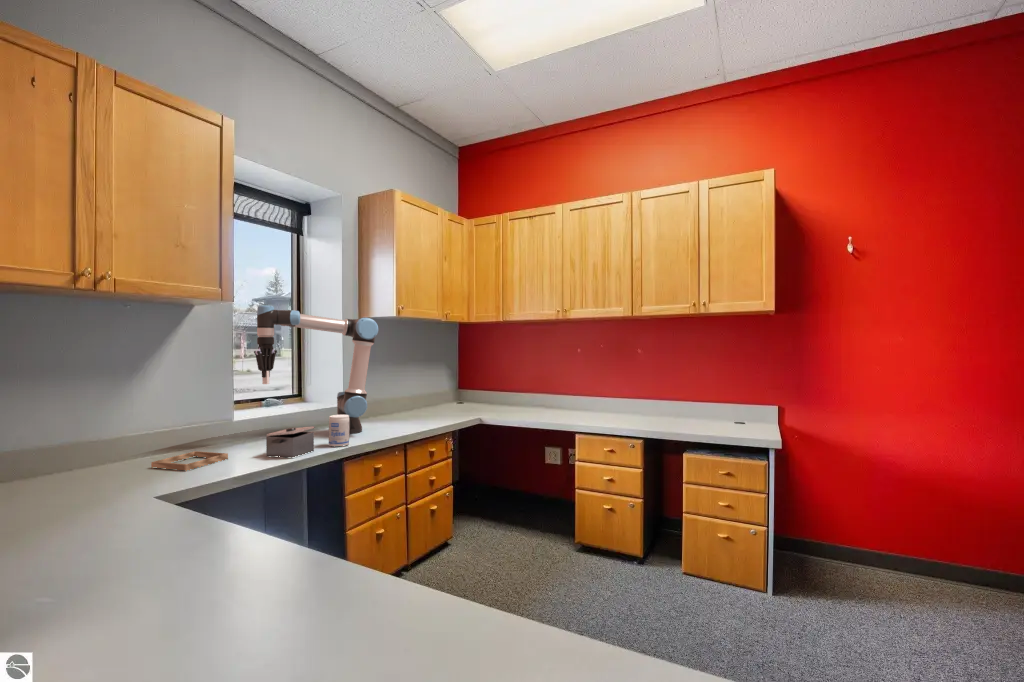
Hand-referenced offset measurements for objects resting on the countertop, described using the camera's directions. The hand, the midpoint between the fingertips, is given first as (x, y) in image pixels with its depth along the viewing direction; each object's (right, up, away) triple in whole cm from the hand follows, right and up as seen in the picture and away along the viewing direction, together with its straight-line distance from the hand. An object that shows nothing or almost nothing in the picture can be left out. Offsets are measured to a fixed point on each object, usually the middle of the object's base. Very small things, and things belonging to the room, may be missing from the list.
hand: (265, 383), depth 239 cm
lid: (+21, -20, -19) cm, 35 cm away
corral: (-13, -31, -36) cm, 49 cm away
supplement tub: (+37, -31, -1) cm, 48 cm away
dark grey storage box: (+21, -30, -19) cm, 41 cm away
